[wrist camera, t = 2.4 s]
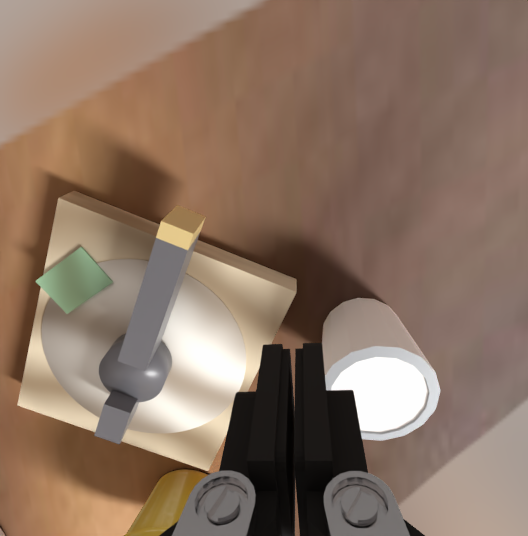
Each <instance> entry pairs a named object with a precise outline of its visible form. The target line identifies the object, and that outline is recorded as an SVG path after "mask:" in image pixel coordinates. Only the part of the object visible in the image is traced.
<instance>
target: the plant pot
mask: <svg viewBox="0 0 528 536" xmlns="http://www.w3.org/2000/svg"><path fill="white" fill-rule="evenodd" d="M206 476H208V475H207V474H205V473H203V472H200V471H196V470H188V469H183V470H176V471H172V472H169V473H167V474H166V475H164V476H163V477H162V478H161V479H160V480H159V481H158V482H157V484H156V486H155V487H154V489H153V491H152V492H151V494H150V496H149V497H148V499H147V501H146V503H145V504H144V506H143V507H142V509H141V511H140V512H139V514H138V516H137V517H136V519H135V521H134V522H133V524H132V525H131V527H130V529H129V530H128V532H127V534H126V535H124V536H159V535H160V534H162V533H163V532H164V531H166V530H167V529H168V528H170V527H171V526H172V525H174V524H175V523H176V522H177V521H179V518H180V516H181V514H182V511H183V509H184V507H185V504H186V502H187V500H188V497H189V495H190V493H191V492H192V490H193V488H194V487H195V485H196V484H197V483H198V482H199V481H201V480H202V479H203V478H204V477H206Z"/></svg>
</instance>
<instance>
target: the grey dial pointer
mask: <svg viewBox="0 0 528 536" xmlns="http://www.w3.org/2000/svg"><path fill="white" fill-rule="evenodd" d="M205 217H206V216H203V215H201V214H198V213H196V212H193V211H191V210H188V209H186V208H183V207H181V206H178V205H177V206H176V207H175V208H174V209H173V210H172V211H171V212H170V213H169V214H168V215H167V216H166V217H165V218H164V219H163V220H162V221H161V223H160V226H159V229H158V233H157V236H156V239H155V243H154V246H153V249H152V252H151V255H150V259H149V262H148V265H147V268H146V271H145V275H144V278H143V281H142V284H141V287H140V291H139V294H138V297H137V300H136V303H135V307H134V310H133V313H132V316H131V319H130V323H129V326H128V329H127V332H126V334H123V335H121V336H120V337H119V338H117V339H116V341H115V342H114V343H113V345H112V346H111V347H110V349H109V350H108V352H107V353H106V354H105V356H104V357H103V359H102V360H101V362H100V365H99V376H100V379H101V382H102V383H103V385H104V386H105V388H106V389H107V390H108V391H109V392H110V395H109V397H108V398H107V400H106V402H105V403H104V406H103V409H102V412H101V415H100V419H99V422H98V425H97V428H96V431H95V435H94V436H97V437H100V438H103V439H105V440H108V441H111V442H114V443H117V444H120V443H121V441H122V439H123V437H124V435H125V433H126V431H127V429H128V426H129V424H130V422H131V420H132V418H133V416H134V414H135V412H136V410H137V407H138V404H139V402H145V401H149V400H151V399H153V398H155V397H156V396H157V395H158V394H159V393H160V392H161V390H162V388H163V386H164V384H165V381H166V379H167V377H168V375H169V372H170V370H171V367H172V356H171V353H170V351H169V349H168V348H167V346H166V345H165V344H164V343H163V342H162V341H161V340H162V337H163V335H164V332H165V329H166V326H167V323H168V321H169V318H170V315H171V312H172V309H173V307H174V304H175V301H176V298H177V296H178V293H179V290H180V287H181V284H182V282H183V279H184V276H185V273H186V270H187V268H188V265H189V262H190V259H191V256H192V254H193V251H194V248H195V245H196V242H197V240H198V237H199V234H200V231H201V229H202V226H203V223H204V220H205Z"/></svg>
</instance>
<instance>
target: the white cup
mask: <svg viewBox="0 0 528 536" xmlns="http://www.w3.org/2000/svg"><path fill="white" fill-rule="evenodd" d="M322 348H323V359H324V371H325V382H326V390H353V392H354V397H355V402H356V408H357V414H358V419H359V425H360V431H361V436H362V439H368V440H381V441H382V440H387V439H391V438H396V437H400V436H404V435H406V434H408V433H410V432H411V431H413V430H415V429H416V428H418V427H420V426H422V425H423V424H424V423H425V422H426V420H427V419H428V418H429V417H430V416H431V414H432V413H433V412H434V411H435V409H436V406H437V402H438V398H439V394H440V387H439V384H438V380H437V376H436V372H435V371H434V369H433V368H432V366H431V365H430V363H429V362H428V360H427V359H426V357H425V356H424V355H423V353H422V352H421V350H420V349H419V347H418V346H417V344H416V343H415V341H414V340H413V338H412V337H411V335H410V334H409V332H408V331H407V329H406V328H405V326H404V325H403V323H402V322H401V320H400V319H399V318H398V316H397V315H396V314H395V313H394V311H393V310H392V309H391V308H390V307H389V306H388V305H387V304H384V303H382V302H380V301H378V300H375V299H369V298H356V299H352V300H349V301H345V302H342V303H341V304H340V305H338V306H337V307H336V308H334V309H333V310H332V311H331V312H330V313H329V315H328V317H327V318H326V320H325V322H324V324H323V334H322Z"/></svg>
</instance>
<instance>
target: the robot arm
mask: <svg viewBox="0 0 528 536" xmlns="http://www.w3.org/2000/svg"><path fill="white" fill-rule="evenodd" d="M295 478H296V490H297V503H298V515H299V528H300V536H425V535H423V534H422V533H421V532H420V531H418V530H417V529H416V528H414V527H413V526H411V525H410V524H409V523H408V522H407V521H405V520H404V519H403V517H402V514H401V512H400V509H399V507H398V504H397V502H396V499H395V497H394V495H393V493H392V492H391V490H390V488H389V487H388V486H387V485H386V484H385V483H384V482H383V481H382V480H381V479H379V478H377V477H376V476H374V475H372V474H369V473H368V470H367V465H366V459H365V453H364V448H363V442H362V436H361V431H360V425H359V419H358V414H357V408H356V402H355V397H354V392H353V390H326V382H325V371H324V359H323V348H322V343H303V349H296V357H295V410H294V397H293V383H292V370H291V357H290V349H283V346H282V344H268V345H263V348H262V355H261V362H260V369H259V376H258V383H257V390H256V392H237V393H236V394H235V398H234V403H233V407H232V412H231V417H230V422H229V427H228V432H227V436H226V441H225V446H224V451H223V456H222V461H221V465H220V470H219V472H215V473H212V474H210V475H208V476H206V477H204V478H203V479H202V480H201V481H199V482H198V483H197V484H196V485H195V487H194V488H193V490H192V492H191V493H190V495H189V497H188V500H187V502H186V504H185V507H184V509H183V511H182V514H181V516H180V518H179V521H177V522H176V523H175V524H174V525H172V526H171V527H170V528H168V529H167V530H166V531H164V532H163V533H162V534H160V535H159V536H295ZM0 536H5V534H4V532H3V531H2V529H1V528H0Z"/></svg>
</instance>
